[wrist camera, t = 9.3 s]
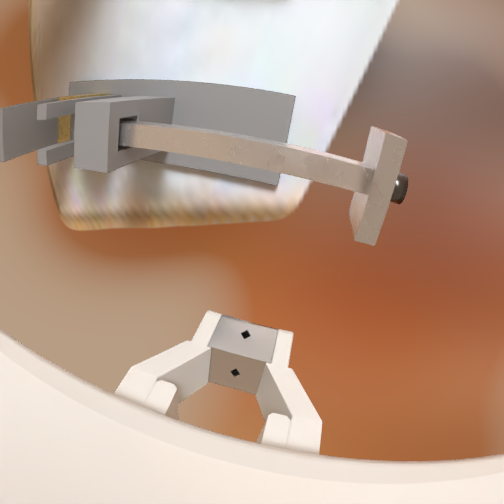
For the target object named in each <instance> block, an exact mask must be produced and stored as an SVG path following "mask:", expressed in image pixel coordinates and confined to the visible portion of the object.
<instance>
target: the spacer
mask: <svg viewBox="0 0 504 504" xmlns="http://www.w3.org/2000/svg"><path fill="white" fill-rule="evenodd" d="M110 94H111V93H93V94H83V95H74V96H66V97H59V101H62V100H70V99H77V98H85V97H95V96H105V95H110ZM70 117H71V115H66V116H61V117H58V143H60V142H63V141H67V140H70Z"/></svg>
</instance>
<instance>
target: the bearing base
mask: <svg viewBox="0 0 504 504" xmlns="http://www.w3.org/2000/svg"><path fill="white" fill-rule="evenodd" d="M93 93H111V94H110V95H105V96H95V97H85V98H77V99H70V100H62V101H59V97H58V98H52V99H45V100H39V101H33V102H28V103H23V104H18V105H13V106H8V107H4V108H0V162H5V161H8V160H11V159H13V158H16V157H18V156H21V155H24V154H27V153H29V152H33V151H35V150H37V160H38V165H44V166H48V165H50V164H53V163H56V162H58V161H61V160H63V159H66V158H69V157H72V156H74V168H78V169H84V170H91V171H97V172H103V173H109V172H111V171H113V170H116V169H118V168H120V167H123V166H125V165H127V164H130V163H132V162H135V161H137V160H146V161H152V162H159V163H165V164H171V165H177V166H183V167H188V168H194V169H199V170H205V171H210V172H215V173H220V174H225V175H230V176H235V177H240V178H245V179H250V180H254V181H259V182H264V183H268V184H272V185H278V183H279V178H280V173H279V172H274V171H270V170H265V169H261V168H256V167H251V166H246V165H241V164H236V163H231V162H226V161H220V160H215V159H209V158H203V157H198V156H192V155H185V154H179V153H173V152H166V151H159V150H152V149H145V148H137V147H129V146H120V145H118V137H119V120H130V121H143V122H154V123H164V124H173V125H181V126H189V127H197V128H204V129H211V130H218V131H224V132H230V133H236V134H242V135H248V136H253V137H258V138H263V139H268V140H273V141H278V142H283V143H287V138H288V133H289V128H290V123H291V117H292V112H293V107H294V102H295V97H296V96H294V95H288V94H283V93H278V92H272V91H266V90H260V89H254V88H247V87H239V86H232V85H223V84H214V83H203V82H191V81H175V80H144V79H124V80H94V81H79V82H70V87H69V96H74V95H83V94H93ZM66 115H71V117H70V140H67V141H63V142H60V143H58V117H61V116H66Z"/></svg>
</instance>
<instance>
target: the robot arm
mask: <svg viewBox="0 0 504 504" xmlns="http://www.w3.org/2000/svg"><path fill="white" fill-rule="evenodd" d="M292 340H293V332H290V331H285V330H280V329H279V330H278V329H276V328H272V327H267V326H263V325H259V324H255V323H251V322H247V321H244V320H240V319H237V318H234V317H230V316H227V315H223V314H219V313H216V312H212V311H210V310H208V311H207V312H206V314H205V316H204V317H203V319H202V321H201V323H200V325H199V327H198V329H197V331H196V333H195V335H194V337H193V339H192V341H185V342H182V343H180V344H179V345H176V346H174V347H172V348H170V349H168V350H166V351H164V352H162V353H160V354H158V355H156V356H153V357H152V358H149V359H147V360H145V361H143V362H141V363H139V364H136V365H134V366H132V367H131V368H130V370H129V371H128V373H127V375H126V376H125V377H124V379H123V381H122V382H121V384H120V385H119V387H118V388H117V390H116V392H115V393H114V394H112V393H110V392H108V391H106V390H103V389H101V388H99V387H97V386H95V385H93V384H91V383H89V382H87V381H85V380H83V379H81V378H80V377H78V376H76V375H74V374H72V373H70V372H68V371H67V370H65V369H63V368H61V367H59V366H58V365H56V364H54V363H53V362H51V361H49V360H47V359H46V358H44V357H42V356H41V355H39V354H37V353H36V352H34V351H33V350H31V349H30V348H28V347H27V346H25V345H23V344H22V343H20V342H19V341H17V340H16V339H14V338H13V337H12V336H10V335H8V334H7V333H6V332H4V331H3V330H2V329H0V504H504V454H500V455H494V456H487V457H479V458H470V459H459V460H444V461H379V460H363V459H351V458H341V457H333V456H325V455H319V448H320V439H321V429H322V421H321V419H320V417H319V415H318V413H317V412H316V410H315V408H314V406H313V405H312V403H311V401H310V399H309V398H308V396H307V394H306V393H305V391H304V389H303V387H302V386H301V384H300V382H299V380H298V379H297V377H296V375H295V373H294V372H293V370H292V369H290V368H288V364H289V358H290V352H291V346H292ZM208 382H212V383H215V384H219V385H223V386H226V387H231V388H234V389H237V390H240V391H244V392H247V393H251V394H254V395H256V398H257V401H258V404H259V407H260V409H261V412H262V415H263V417H264V420H265V424H264V426H263V428H262V431H261V433H260V435H259V437H258V440H257V442H256V443H254V442H250V441H246V440H242V439H238V438H234V437H230V436H227V435H223V434H220V433H216V432H213V431H209V430H206V429H203V428H200V427H196V426H193V425H190V424H187V423H184V422H182V421H179V419H178V404H179V403H180V402H181V401H183V400H185V399H186V398H187V397H189V396H190V395H192V394H193V393H195V392H196V391H197V390H199V389H200V388H202V387H203V386H204V385H206V384H207V383H208Z"/></svg>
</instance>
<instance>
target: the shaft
mask: <svg viewBox="0 0 504 504" xmlns="http://www.w3.org/2000/svg"><path fill="white" fill-rule="evenodd" d="M118 145H120V146H129V147H137V148H145V149H152V150H159V151H166V152H173V153H179V154H185V155H192V156H198V157H203V158H209V159H215V160H220V161H226V162H231V163H236V164H241V165H246V166H251V167H256V168H261V169H265V170H270V171H274V172H279V173H283V174H288V175H292V176H296V177H300V178H305V179H309V180H313V181H317V182H321V183H325V184H329V185H333V186H336V187H340V188H344V189H347V190H351V191H354V195H353V198H352V202H351V205H350V209H349V217H350V222H351V226H352V231H353V236H354V240H355V241H359V242H362V243H366V244H370V245H373V246H375V244H376V241H377V238H378V235H379V232H380V230H381V227H382V224H383V221H384V218H385V215H386V212H387V209H388V206H389V203H390V202H393V203H396V204H401V203H402V202H403V200H404V198H405V195H406V192H407V188H408V177H407V176H406V175H404V174H401V173H399V170H400V167H401V163H402V160H403V156H404V153H405V149H406V145H407V140H406V139H404V138H402V137H400V136H398V135H395V134H393V133H391V132H389V131H386V130H382V129H379V128H376V127H372V126H371V130H370V134H369V138H368V142H367V147H366V151H365V154H364V158H363V162H359V161H356V160H352V159H349V158H345V157H341V156H337V155H334V154H330V153H326V152H322V151H318V150H314V149H310V148H305V147H301V146H297V145H292V144H288V143H283V142H278V141H273V140H268V139H263V138H258V137H253V136H248V135H242V134H236V133H230V132H224V131H218V130H211V129H204V128H197V127H189V126H181V125H173V124H164V123H154V122H143V121H130V120H119V137H118Z"/></svg>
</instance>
